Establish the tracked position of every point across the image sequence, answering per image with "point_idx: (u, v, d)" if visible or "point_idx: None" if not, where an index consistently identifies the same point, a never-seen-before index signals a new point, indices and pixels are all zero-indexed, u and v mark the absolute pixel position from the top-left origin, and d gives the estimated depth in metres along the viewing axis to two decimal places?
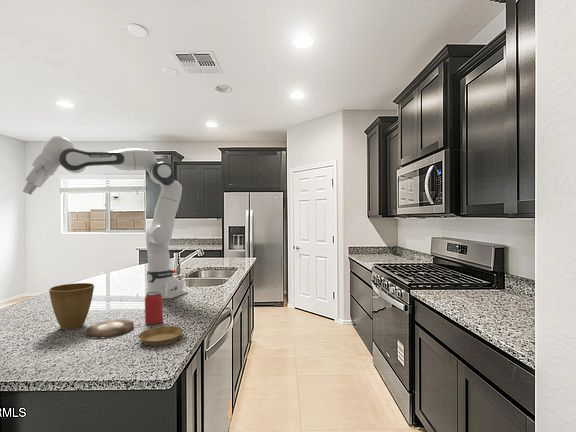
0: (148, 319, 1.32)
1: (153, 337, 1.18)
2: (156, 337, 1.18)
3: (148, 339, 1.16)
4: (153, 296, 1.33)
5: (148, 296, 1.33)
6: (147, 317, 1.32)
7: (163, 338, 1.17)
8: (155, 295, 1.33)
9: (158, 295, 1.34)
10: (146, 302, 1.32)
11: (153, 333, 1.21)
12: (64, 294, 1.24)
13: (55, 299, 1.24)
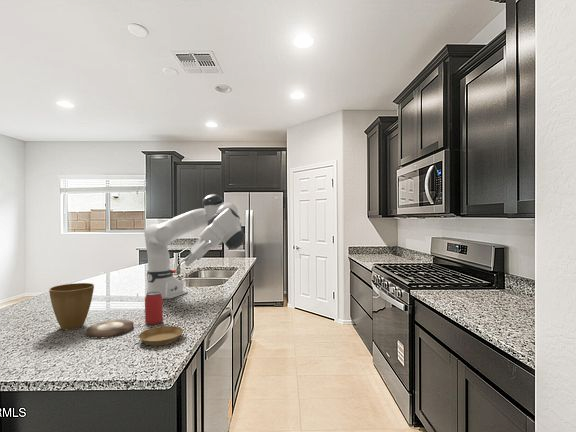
0: (148, 319, 1.32)
1: (153, 337, 1.18)
2: (156, 337, 1.18)
3: (148, 339, 1.16)
4: (153, 296, 1.33)
5: (148, 296, 1.33)
6: (147, 317, 1.32)
7: (163, 338, 1.17)
8: (155, 295, 1.33)
9: (158, 295, 1.34)
10: (146, 302, 1.32)
11: (153, 333, 1.21)
12: (64, 294, 1.24)
13: (55, 299, 1.24)
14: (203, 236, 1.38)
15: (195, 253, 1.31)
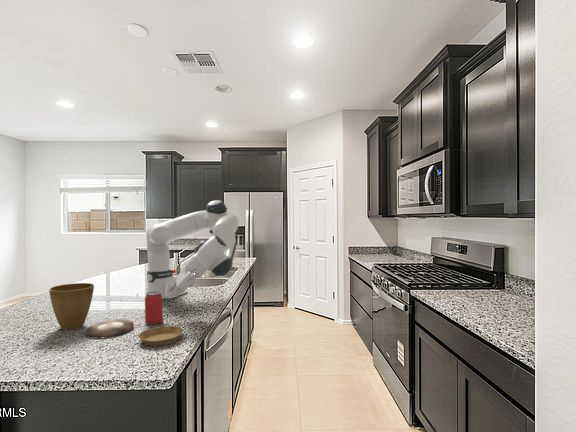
0: (148, 319, 1.32)
1: (153, 337, 1.18)
2: (156, 337, 1.18)
3: (148, 339, 1.16)
4: (153, 296, 1.33)
5: (148, 296, 1.33)
6: (147, 317, 1.32)
7: (163, 338, 1.17)
8: (155, 295, 1.33)
9: (158, 295, 1.34)
10: (146, 302, 1.32)
11: (153, 333, 1.21)
12: (64, 294, 1.24)
13: (55, 299, 1.24)
14: (188, 266, 1.36)
15: (179, 285, 1.28)
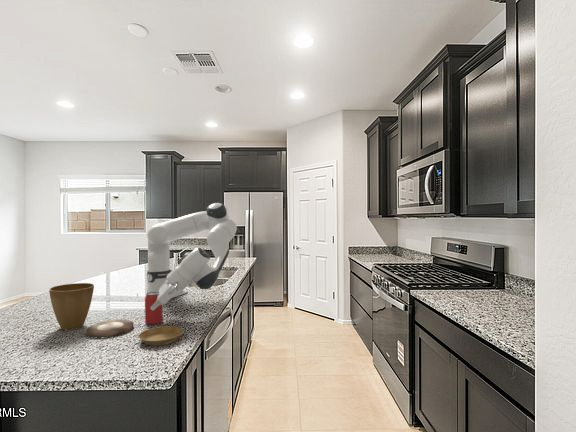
0: (148, 319, 1.32)
1: (153, 337, 1.18)
2: (156, 337, 1.18)
3: (148, 339, 1.16)
4: (153, 296, 1.33)
5: (148, 296, 1.33)
6: (147, 317, 1.32)
7: (163, 338, 1.17)
8: (155, 295, 1.33)
9: None
10: (146, 302, 1.32)
11: (153, 333, 1.21)
12: (64, 294, 1.24)
13: (55, 299, 1.24)
14: (170, 279, 1.34)
15: (159, 299, 1.27)
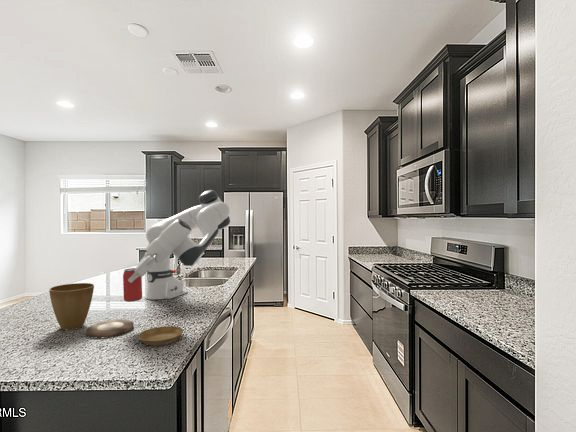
0: (127, 295, 1.27)
1: (153, 337, 1.18)
2: (156, 337, 1.18)
3: (148, 339, 1.16)
4: (131, 272, 1.27)
5: (126, 272, 1.27)
6: (125, 294, 1.27)
7: (163, 338, 1.17)
8: (133, 271, 1.28)
9: None
10: (124, 278, 1.27)
11: (153, 333, 1.21)
12: (64, 294, 1.24)
13: (55, 299, 1.24)
14: (149, 250, 1.29)
15: (137, 269, 1.21)
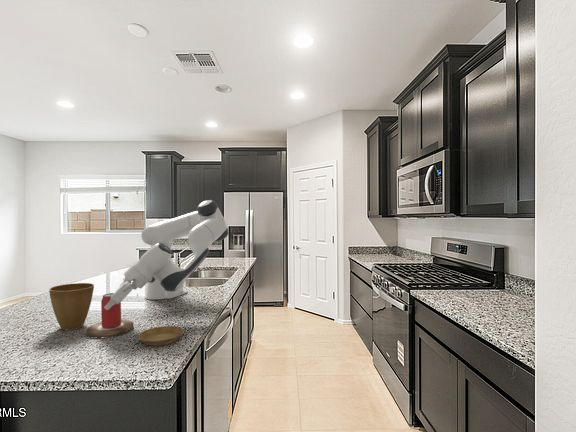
0: (104, 322, 1.24)
1: (153, 337, 1.18)
2: (156, 337, 1.18)
3: (148, 339, 1.16)
4: (109, 298, 1.24)
5: (104, 298, 1.24)
6: (103, 320, 1.24)
7: (163, 338, 1.17)
8: None
9: None
10: (102, 304, 1.24)
11: (153, 333, 1.20)
12: (64, 294, 1.24)
13: (55, 299, 1.24)
14: (127, 275, 1.26)
15: (113, 297, 1.18)
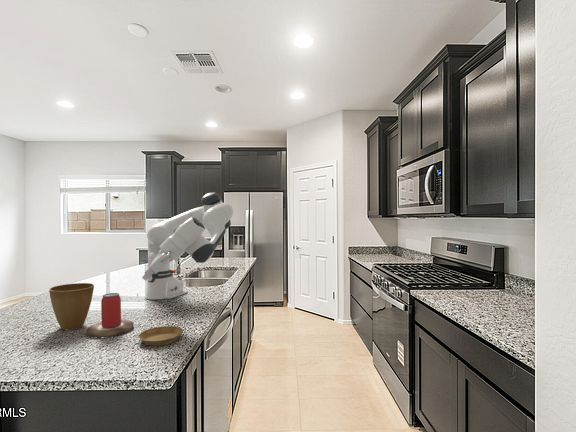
0: (104, 322, 1.24)
1: (153, 337, 1.18)
2: (156, 337, 1.18)
3: (148, 339, 1.16)
4: (109, 298, 1.24)
5: (104, 298, 1.24)
6: (103, 320, 1.24)
7: (163, 338, 1.17)
8: (112, 297, 1.24)
9: (115, 297, 1.25)
10: (102, 304, 1.24)
11: (153, 333, 1.20)
12: (64, 294, 1.24)
13: (55, 299, 1.24)
14: (163, 248, 1.30)
15: (152, 266, 1.22)
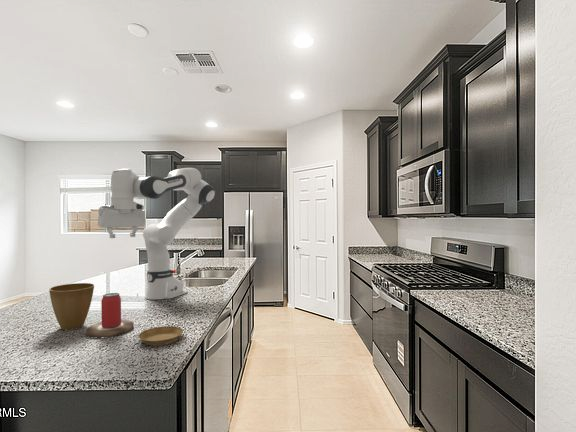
0: (104, 322, 1.24)
1: (153, 337, 1.18)
2: (156, 337, 1.18)
3: (148, 339, 1.16)
4: (109, 298, 1.24)
5: (104, 298, 1.24)
6: (103, 320, 1.24)
7: (163, 338, 1.17)
8: (112, 296, 1.25)
9: (115, 297, 1.25)
10: (102, 304, 1.24)
11: (153, 333, 1.20)
12: (64, 294, 1.24)
13: (55, 299, 1.24)
14: None
15: (98, 224, 1.37)
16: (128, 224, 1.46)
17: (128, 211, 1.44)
